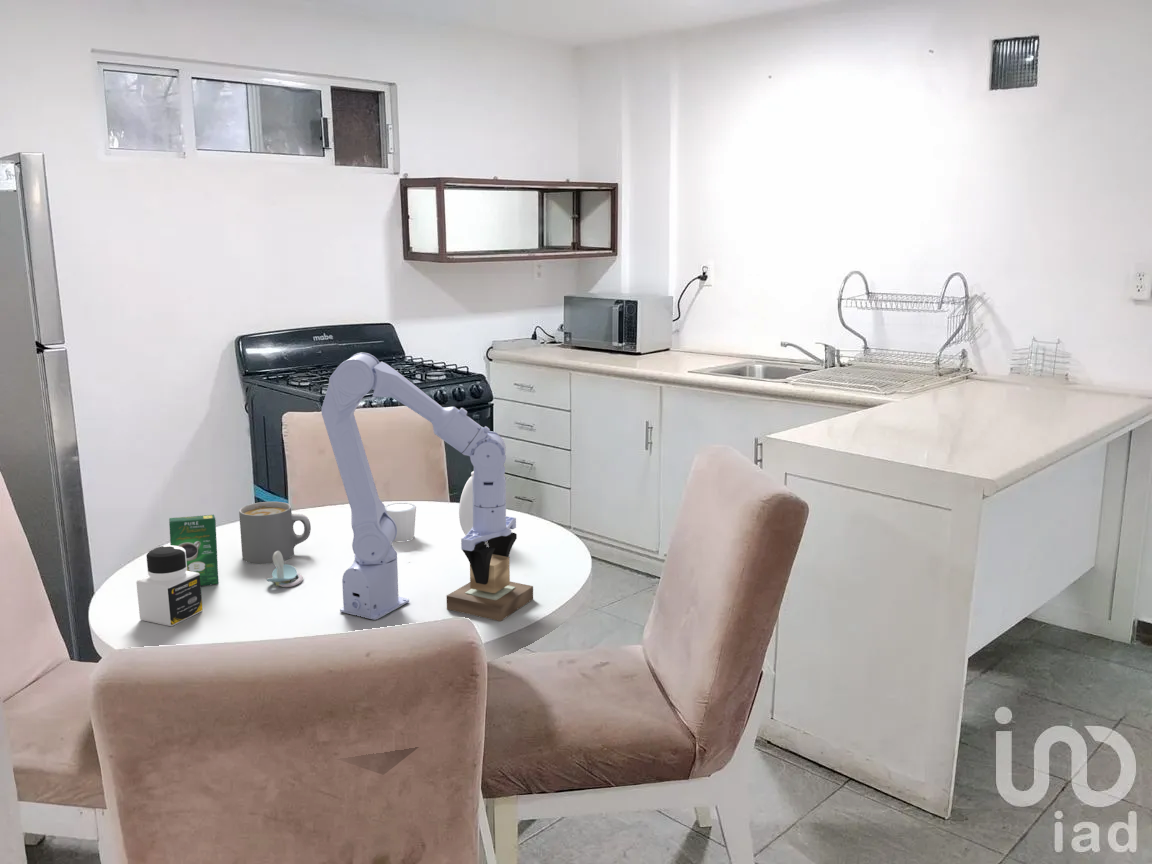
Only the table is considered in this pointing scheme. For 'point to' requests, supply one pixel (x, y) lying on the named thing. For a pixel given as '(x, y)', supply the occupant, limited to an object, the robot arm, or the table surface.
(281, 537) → the coffee mug
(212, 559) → the coffee box
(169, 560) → the medicine bottle
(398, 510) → the white cup
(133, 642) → the table surface
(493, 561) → the oak cube
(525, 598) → the walnut base
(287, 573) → the pacifier
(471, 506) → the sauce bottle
